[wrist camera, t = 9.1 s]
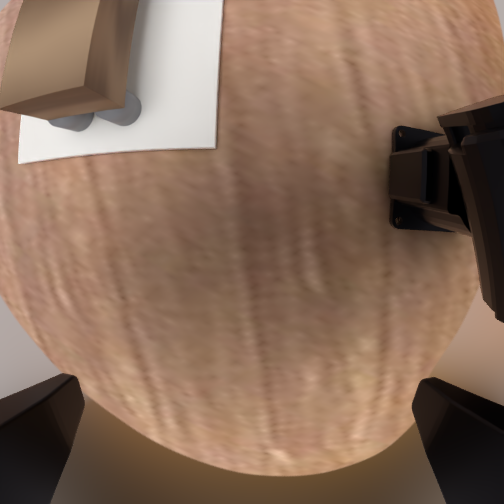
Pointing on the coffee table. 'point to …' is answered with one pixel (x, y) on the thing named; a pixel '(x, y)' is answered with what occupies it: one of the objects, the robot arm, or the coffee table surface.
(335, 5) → the coffee table surface
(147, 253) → the coffee table surface
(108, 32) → the walnut board
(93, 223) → the coffee table surface
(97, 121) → the peg stand
